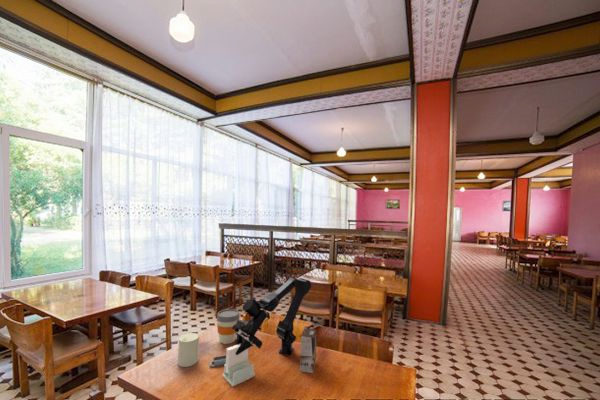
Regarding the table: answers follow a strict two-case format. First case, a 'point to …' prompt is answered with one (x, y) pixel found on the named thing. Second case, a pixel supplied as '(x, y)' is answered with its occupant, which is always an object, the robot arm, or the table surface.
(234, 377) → the dish rack
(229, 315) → the reusable coffee cup
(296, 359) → the table surface
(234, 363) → the white block
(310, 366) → the coffee box
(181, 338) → the can
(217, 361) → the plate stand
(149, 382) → the table surface
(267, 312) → the robot arm
